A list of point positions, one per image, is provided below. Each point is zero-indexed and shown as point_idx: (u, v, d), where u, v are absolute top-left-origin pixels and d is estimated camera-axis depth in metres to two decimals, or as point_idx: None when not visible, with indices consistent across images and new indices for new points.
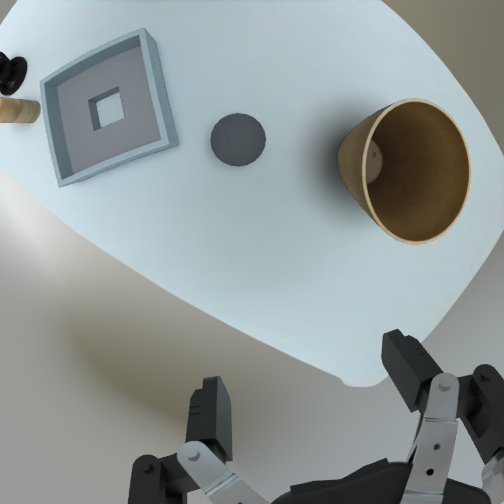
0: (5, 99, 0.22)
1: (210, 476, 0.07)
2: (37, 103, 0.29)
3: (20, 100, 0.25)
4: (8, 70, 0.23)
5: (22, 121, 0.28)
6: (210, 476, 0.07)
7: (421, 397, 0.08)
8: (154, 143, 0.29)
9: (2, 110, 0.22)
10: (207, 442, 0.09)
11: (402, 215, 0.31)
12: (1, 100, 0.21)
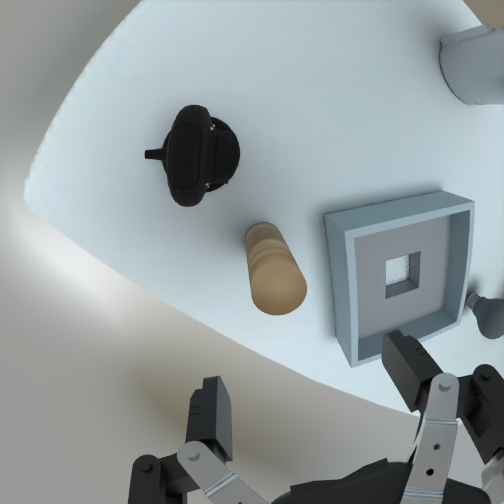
0: (295, 262, 0.21)
1: (210, 476, 0.07)
2: (279, 232, 0.28)
3: (285, 244, 0.24)
4: (229, 160, 0.22)
5: None
6: (211, 476, 0.07)
7: (421, 397, 0.08)
8: (451, 325, 0.28)
9: None
10: (207, 442, 0.09)
11: None
12: None
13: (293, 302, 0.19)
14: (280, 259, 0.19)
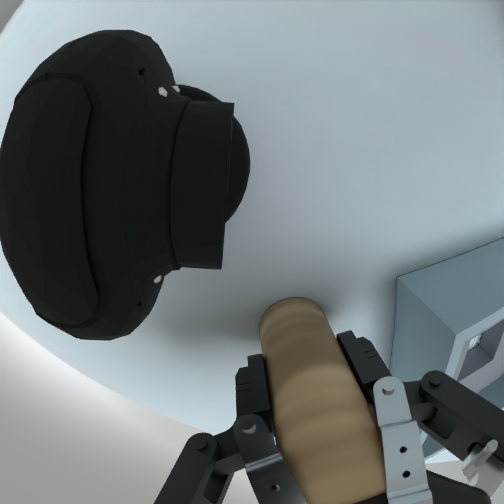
0: None
1: (271, 445, 0.08)
2: (323, 314, 0.15)
3: (347, 366, 0.10)
4: (226, 188, 0.08)
5: None
6: (258, 452, 0.07)
7: (367, 399, 0.09)
8: None
9: None
10: (260, 415, 0.09)
11: None
12: None
13: None
14: (361, 464, 0.06)
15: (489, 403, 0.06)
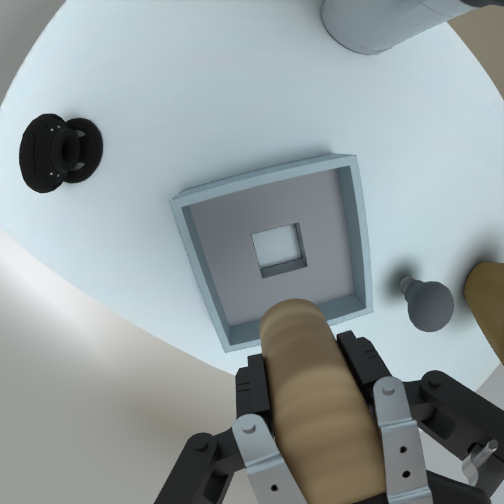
0: None
1: (271, 446, 0.08)
2: (323, 315, 0.15)
3: (347, 367, 0.11)
4: (77, 152, 0.22)
5: None
6: (258, 452, 0.07)
7: (367, 399, 0.09)
8: (358, 312, 0.28)
9: None
10: (260, 415, 0.09)
11: None
12: None
13: None
14: (360, 465, 0.06)
15: (489, 403, 0.06)
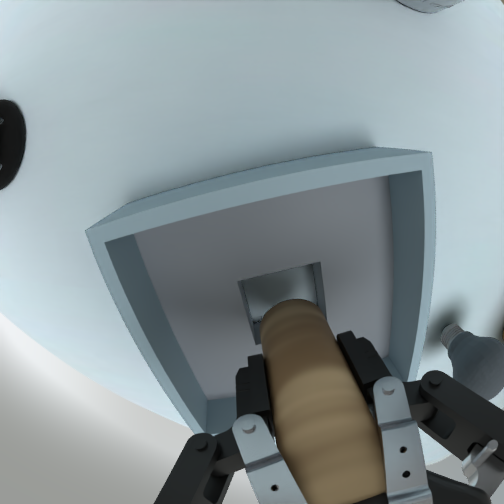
0: None
1: (271, 445, 0.08)
2: (323, 315, 0.15)
3: (347, 367, 0.11)
4: None
5: None
6: (258, 452, 0.07)
7: (367, 399, 0.09)
8: None
9: None
10: (260, 415, 0.09)
11: None
12: None
13: None
14: (361, 465, 0.06)
15: (489, 403, 0.06)
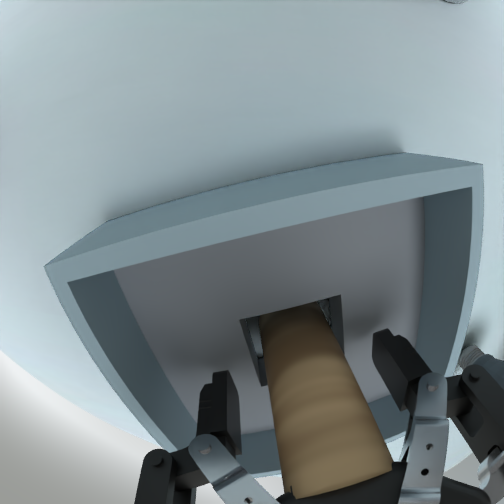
0: (376, 424, 0.08)
1: (223, 468, 0.07)
2: (320, 309, 0.15)
3: (343, 357, 0.11)
4: None
5: None
6: (220, 470, 0.07)
7: (409, 396, 0.09)
8: None
9: None
10: (218, 435, 0.09)
11: None
12: None
13: None
14: (355, 448, 0.06)
15: None
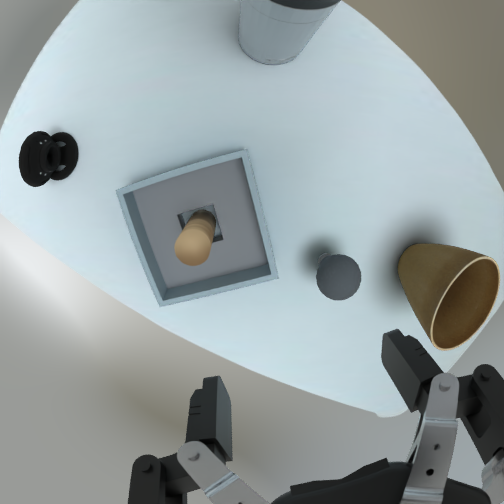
0: (207, 231, 0.31)
1: (210, 476, 0.07)
2: (213, 216, 0.38)
3: (208, 222, 0.34)
4: (58, 158, 0.30)
5: None
6: (211, 476, 0.07)
7: (421, 397, 0.08)
8: (264, 277, 0.36)
9: None
10: (207, 442, 0.09)
11: (443, 318, 0.37)
12: (208, 237, 0.30)
13: (202, 256, 0.29)
14: (193, 228, 0.29)
15: None
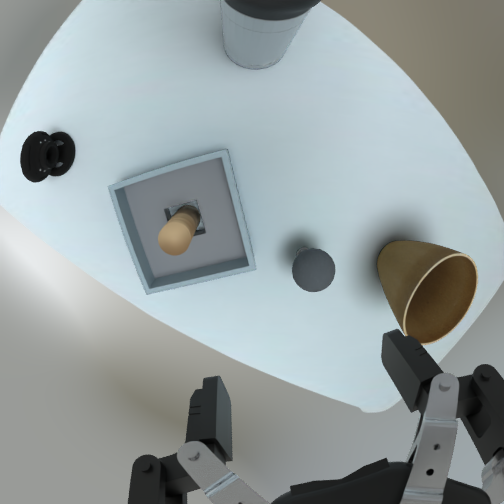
0: (188, 224, 0.33)
1: (210, 476, 0.07)
2: (197, 211, 0.41)
3: (191, 216, 0.37)
4: (57, 156, 0.32)
5: None
6: (210, 476, 0.07)
7: (421, 397, 0.08)
8: (243, 268, 0.39)
9: (190, 241, 0.33)
10: (207, 442, 0.09)
11: (421, 313, 0.40)
12: (188, 229, 0.32)
13: (183, 247, 0.32)
14: (175, 221, 0.32)
15: None
